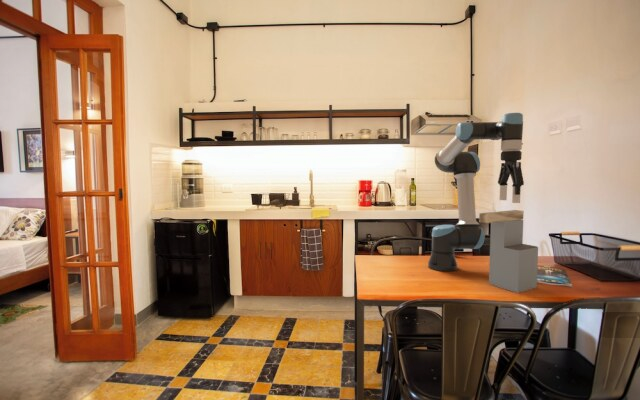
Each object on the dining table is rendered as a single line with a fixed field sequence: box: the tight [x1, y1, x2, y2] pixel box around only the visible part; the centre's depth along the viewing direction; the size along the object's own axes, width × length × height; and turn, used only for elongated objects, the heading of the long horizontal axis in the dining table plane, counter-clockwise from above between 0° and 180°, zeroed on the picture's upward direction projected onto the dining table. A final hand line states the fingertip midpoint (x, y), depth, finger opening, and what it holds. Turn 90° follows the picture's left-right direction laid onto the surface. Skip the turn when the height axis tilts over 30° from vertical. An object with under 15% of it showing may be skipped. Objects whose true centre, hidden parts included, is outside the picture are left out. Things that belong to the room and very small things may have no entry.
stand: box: [488, 219, 539, 294], centre depth 149 cm, size 14×14×30 cm
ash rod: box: [478, 209, 525, 224], centre depth 149 cm, size 4×26×4 cm, turn 118°
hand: (509, 201), depth 138 cm, fingers open, 13 cm apart
